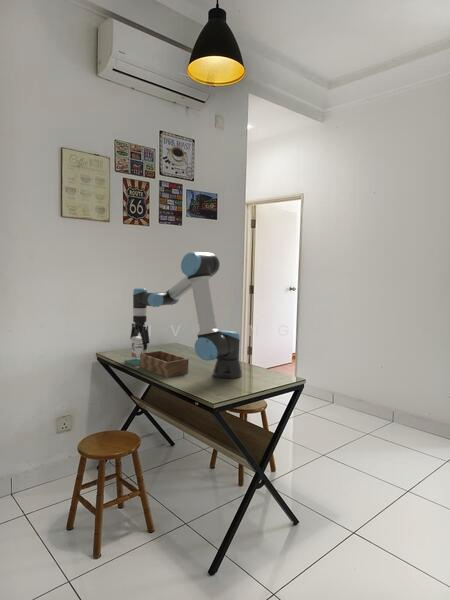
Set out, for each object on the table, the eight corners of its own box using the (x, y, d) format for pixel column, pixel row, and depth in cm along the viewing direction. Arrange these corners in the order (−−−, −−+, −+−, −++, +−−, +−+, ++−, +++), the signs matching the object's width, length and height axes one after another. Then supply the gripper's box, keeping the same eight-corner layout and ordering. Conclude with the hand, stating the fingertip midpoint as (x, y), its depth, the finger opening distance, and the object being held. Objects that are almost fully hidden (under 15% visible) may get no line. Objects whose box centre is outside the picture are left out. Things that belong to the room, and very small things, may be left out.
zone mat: (154, 362, 241) (154, 360, 241) (135, 365, 233) (135, 363, 233) (143, 358, 250) (143, 356, 250) (125, 361, 242) (125, 359, 242)
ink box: (130, 357, 241) (130, 336, 240) (136, 355, 245) (136, 335, 244) (142, 359, 237) (142, 338, 236) (148, 357, 241) (148, 337, 240)
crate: (188, 372, 221) (188, 358, 220) (166, 377, 211) (167, 362, 211) (160, 363, 239) (160, 350, 239) (140, 367, 230) (140, 353, 229)
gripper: (156, 316, 233) (155, 356, 236) (135, 312, 250) (135, 349, 252) (144, 317, 228) (144, 358, 230) (124, 313, 244) (124, 351, 247)
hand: (139, 353), depth 241 cm, fingers closed on ink box, 9 cm apart
